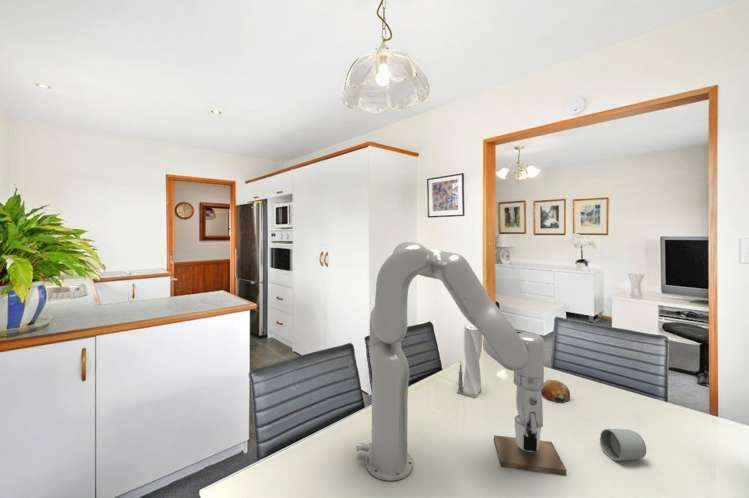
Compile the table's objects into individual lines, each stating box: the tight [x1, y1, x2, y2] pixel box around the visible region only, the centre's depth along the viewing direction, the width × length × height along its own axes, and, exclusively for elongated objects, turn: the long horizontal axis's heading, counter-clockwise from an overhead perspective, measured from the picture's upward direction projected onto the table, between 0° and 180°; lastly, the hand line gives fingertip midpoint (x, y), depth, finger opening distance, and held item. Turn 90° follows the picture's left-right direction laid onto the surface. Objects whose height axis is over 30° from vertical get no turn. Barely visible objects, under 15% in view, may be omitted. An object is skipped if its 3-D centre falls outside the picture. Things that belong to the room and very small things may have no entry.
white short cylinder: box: [514, 414, 542, 452], centre depth 93 cm, size 7×7×7 cm
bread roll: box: [541, 379, 571, 403], centre depth 128 cm, size 10×10×8 cm
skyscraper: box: [456, 320, 484, 399], centre depth 131 cm, size 8×8×28 cm
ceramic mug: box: [599, 428, 647, 462], centre depth 95 cm, size 11×8×8 cm
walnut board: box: [493, 434, 568, 477], centre depth 93 cm, size 16×12×2 cm
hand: (527, 442), depth 93 cm, fingers closed on white short cylinder, 5 cm apart
